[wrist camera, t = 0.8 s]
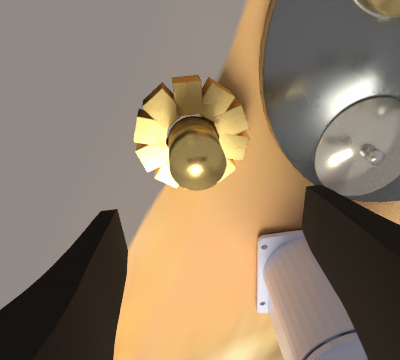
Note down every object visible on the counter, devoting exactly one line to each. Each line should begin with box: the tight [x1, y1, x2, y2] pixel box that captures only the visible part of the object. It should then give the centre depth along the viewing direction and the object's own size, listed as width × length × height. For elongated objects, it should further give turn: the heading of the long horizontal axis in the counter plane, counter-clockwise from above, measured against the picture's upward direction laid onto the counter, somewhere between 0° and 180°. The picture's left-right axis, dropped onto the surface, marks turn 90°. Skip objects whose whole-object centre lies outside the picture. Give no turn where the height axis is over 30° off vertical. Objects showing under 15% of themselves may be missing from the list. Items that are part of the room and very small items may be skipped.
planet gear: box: [134, 75, 250, 191], centre depth 19 cm, size 7×7×5 cm
